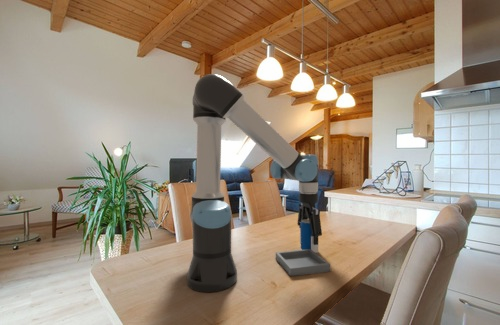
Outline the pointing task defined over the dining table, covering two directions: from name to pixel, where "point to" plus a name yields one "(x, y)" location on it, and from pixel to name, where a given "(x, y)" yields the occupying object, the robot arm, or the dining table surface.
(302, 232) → the beverage can
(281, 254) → the tray
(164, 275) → the dining table surface
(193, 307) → the dining table surface
